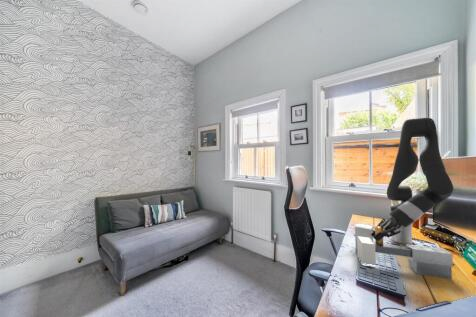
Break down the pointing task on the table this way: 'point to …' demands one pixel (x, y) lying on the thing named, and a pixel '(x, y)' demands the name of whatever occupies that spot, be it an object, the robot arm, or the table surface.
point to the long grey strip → (390, 247)
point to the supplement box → (363, 232)
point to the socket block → (366, 250)
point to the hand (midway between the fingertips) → (373, 237)
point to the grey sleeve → (431, 261)
